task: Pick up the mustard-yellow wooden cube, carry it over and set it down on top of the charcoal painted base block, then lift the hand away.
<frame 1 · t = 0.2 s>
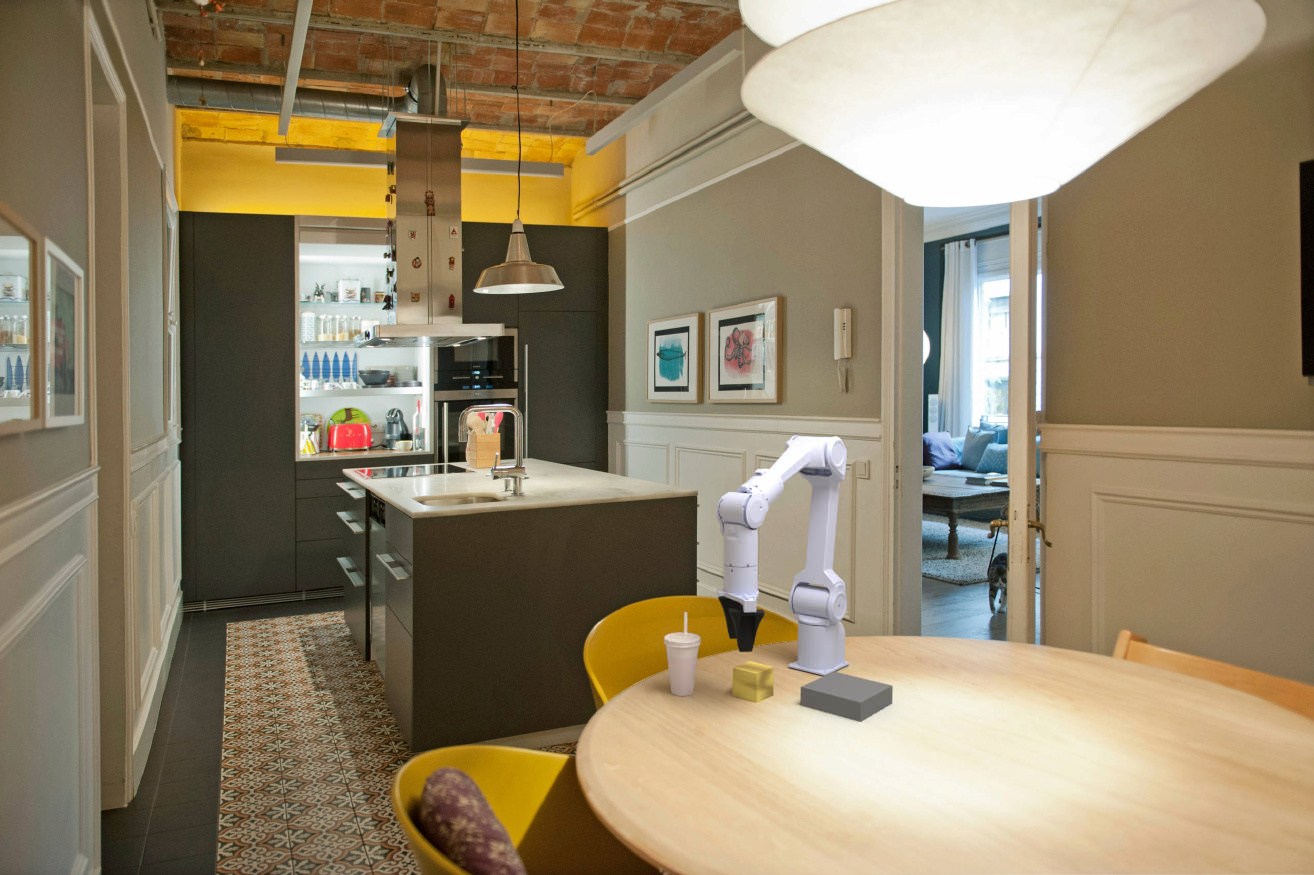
hand: (740, 644, 140), 10 cm above the table, tool pointing down, fingers open, 7 cm apart
smoothie: (682, 693, 145), on the table
mustard cube: (753, 696, 143), on the table
base block: (846, 707, 139), on the table
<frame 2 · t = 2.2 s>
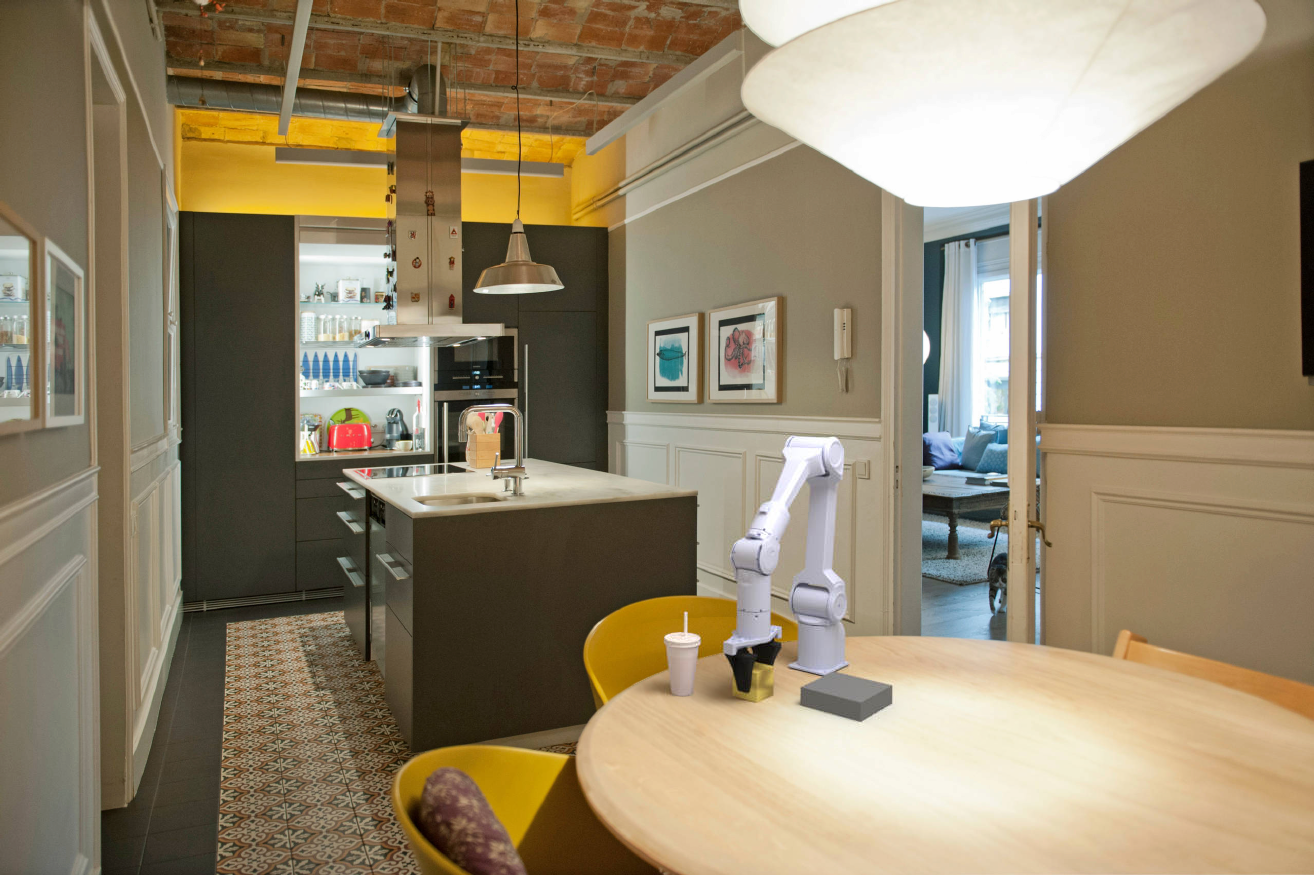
hand: (753, 687, 143), 1 cm above the table, tool pointing down, fingers closed on mustard cube, 5 cm apart
mustard cube: (753, 695, 143), on the table, touching gripper
everything else where it was.
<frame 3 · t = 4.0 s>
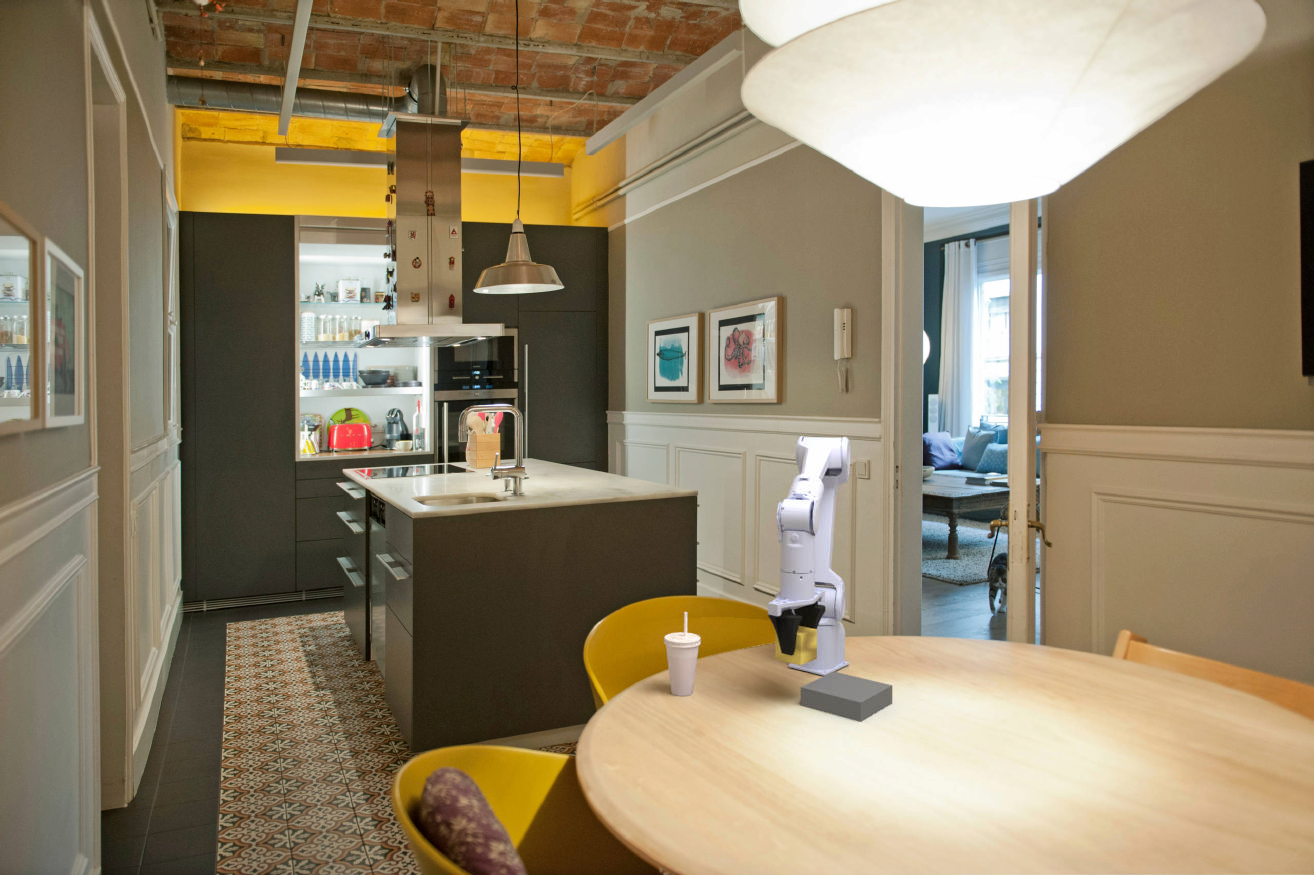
hand: (796, 650, 141), 8 cm above the table, tool pointing down, fingers closed on mustard cube, 5 cm apart
mustard cube: (796, 659, 141), point 7 cm above the table, touching gripper
everything else where it was.
when the fingers open (6 cm above the table, at t = 6.0 s): mustard cube drops 1 cm, resting on base block.
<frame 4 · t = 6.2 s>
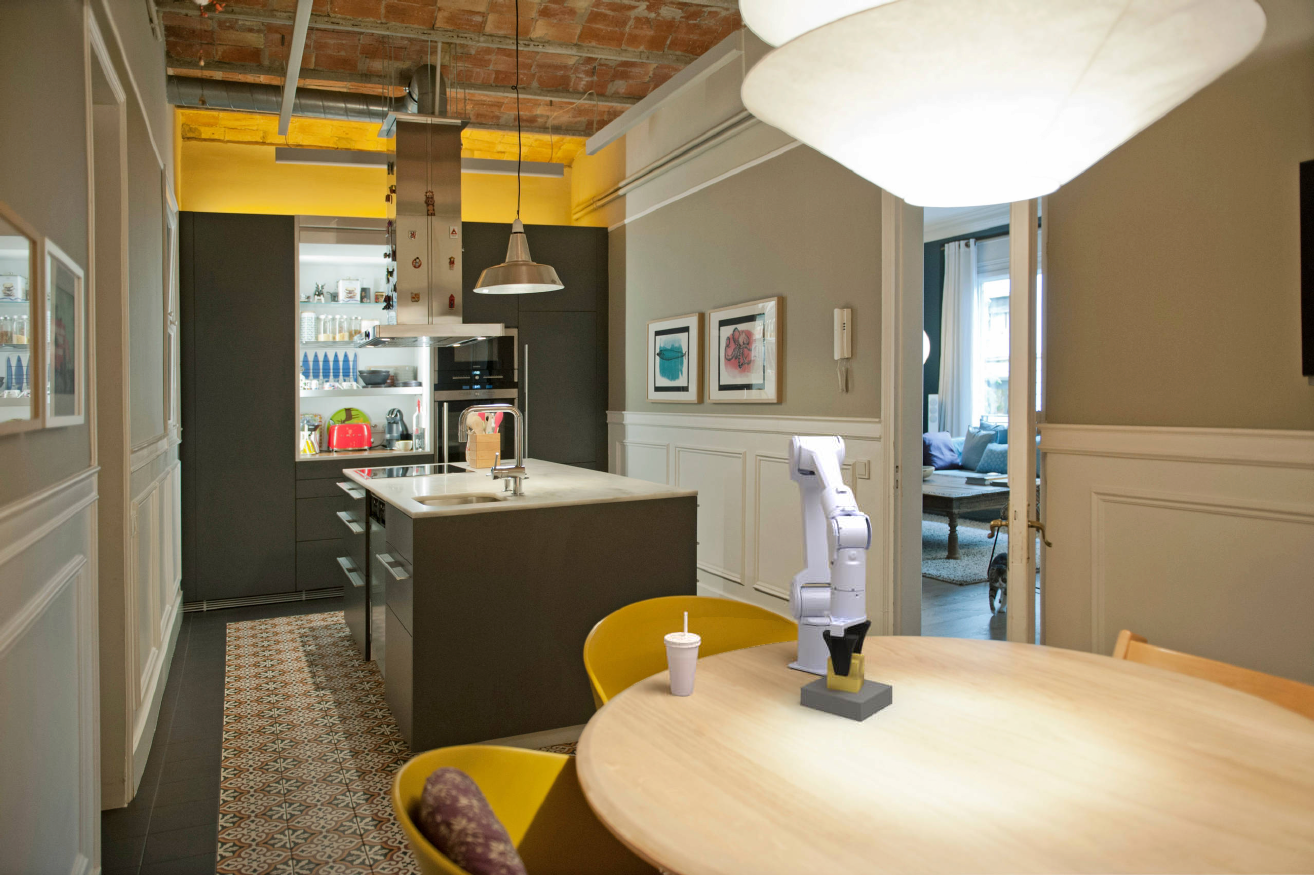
hand: (846, 669, 139), 6 cm above the table, tool pointing down, fingers open, 7 cm apart
mustard cube: (845, 686, 139), point 3 cm above the table, touching base block
base block: (846, 707, 139), on the table, touching mustard cube
everything else where it was.
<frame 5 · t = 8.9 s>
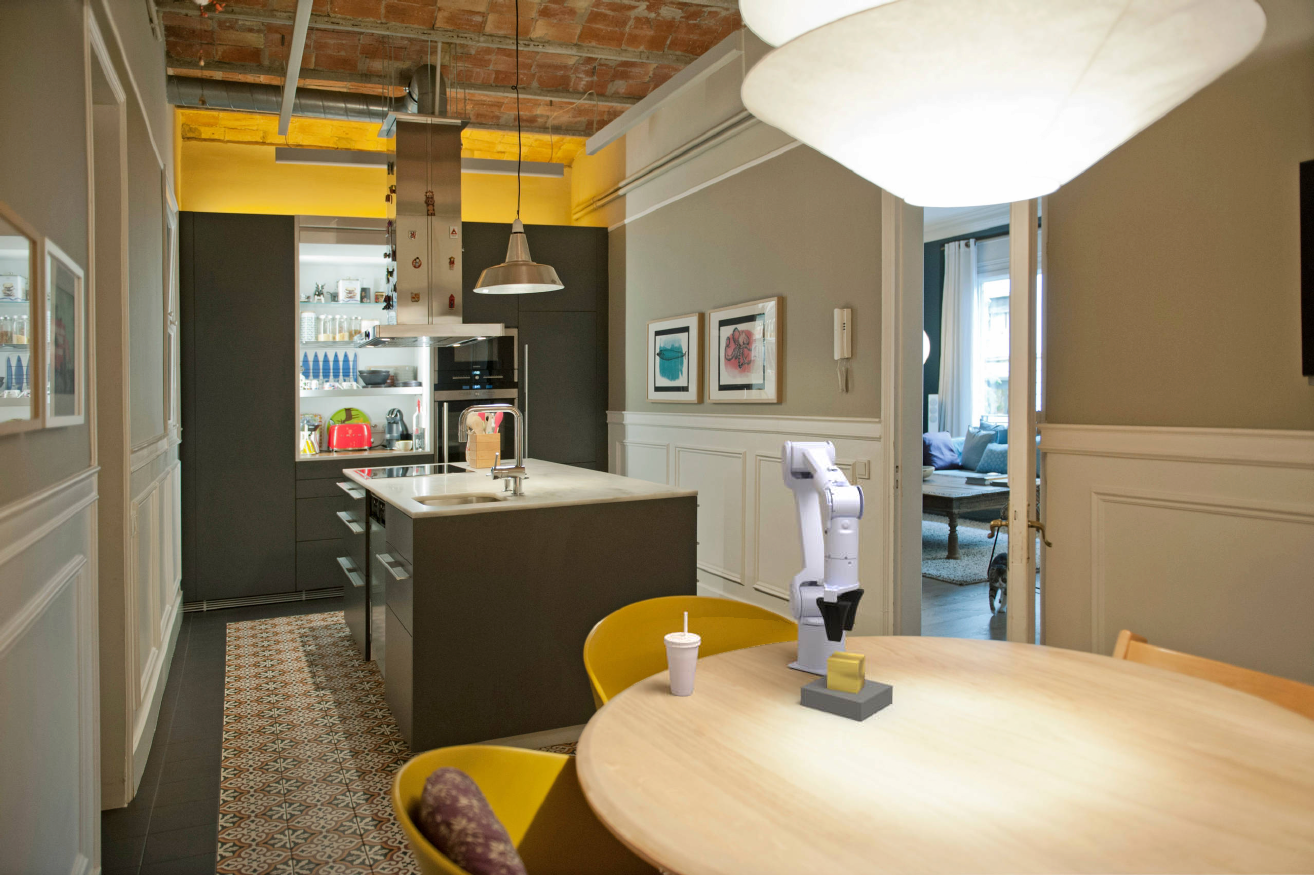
hand: (840, 635, 143), 10 cm above the table, tool pointing down, fingers open, 7 cm apart
nothing on the table moved.
at the end: mustard cube 0.3 cm off-centre on the base block, point 3.5 cm above the base block's base; mustard cube tilted 0°; the gripper is holding nothing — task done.
